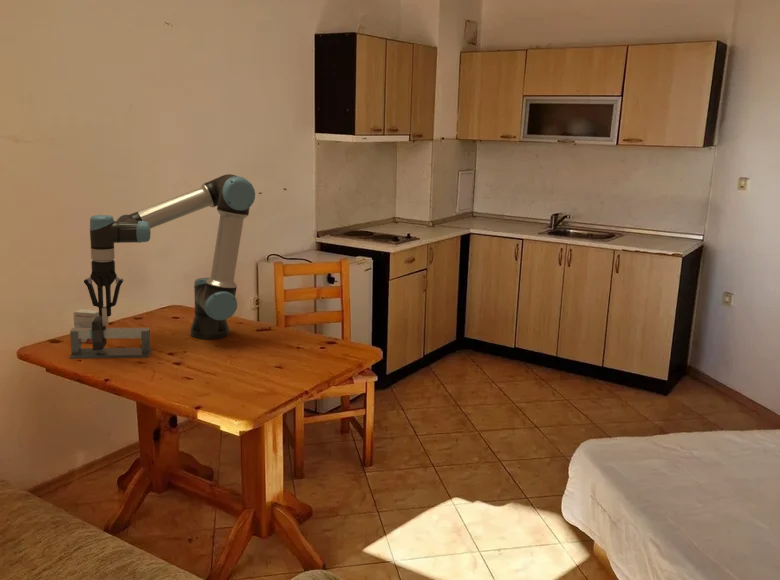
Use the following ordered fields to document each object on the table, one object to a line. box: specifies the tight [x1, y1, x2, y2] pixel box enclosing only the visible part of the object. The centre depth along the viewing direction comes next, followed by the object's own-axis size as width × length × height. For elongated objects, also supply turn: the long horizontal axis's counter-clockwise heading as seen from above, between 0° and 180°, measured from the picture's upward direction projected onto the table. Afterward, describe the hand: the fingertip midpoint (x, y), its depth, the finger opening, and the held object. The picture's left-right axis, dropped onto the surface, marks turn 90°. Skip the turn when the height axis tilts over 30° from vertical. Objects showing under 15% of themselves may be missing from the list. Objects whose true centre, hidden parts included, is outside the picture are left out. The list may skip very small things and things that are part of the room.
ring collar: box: [92, 316, 108, 350], centre depth 243 cm, size 3×8×10 cm, turn 11°
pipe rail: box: [69, 327, 152, 359], centre depth 244 cm, size 26×8×10 cm, turn 102°
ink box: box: [73, 308, 102, 344], centre depth 257 cm, size 9×5×12 cm, turn 84°
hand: (105, 324), depth 243 cm, fingers closed
